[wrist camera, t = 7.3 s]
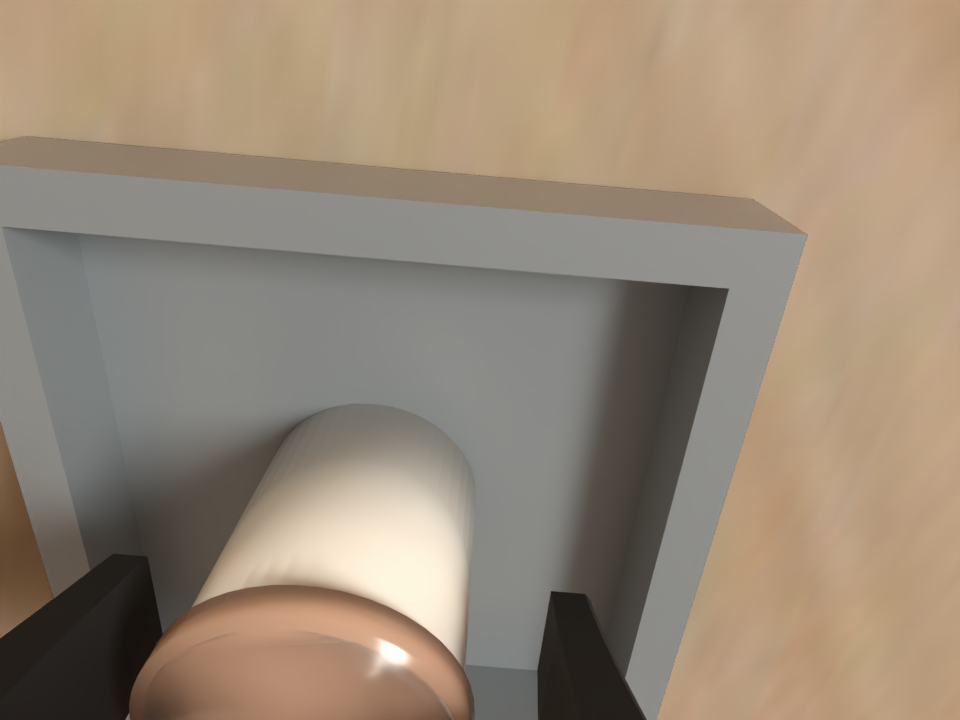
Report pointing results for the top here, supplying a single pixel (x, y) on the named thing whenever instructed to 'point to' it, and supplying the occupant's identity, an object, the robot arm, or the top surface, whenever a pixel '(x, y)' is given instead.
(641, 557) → the tray
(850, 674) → the top surface
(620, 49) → the top surface
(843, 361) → the top surface
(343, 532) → the cup
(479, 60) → the top surface
